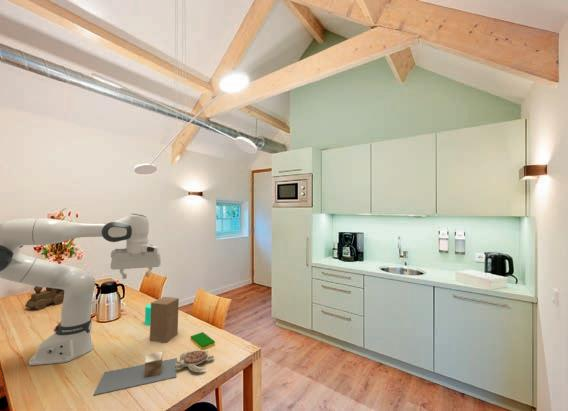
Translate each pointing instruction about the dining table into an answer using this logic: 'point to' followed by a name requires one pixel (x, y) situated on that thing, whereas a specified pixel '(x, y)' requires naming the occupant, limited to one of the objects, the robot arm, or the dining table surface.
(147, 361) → the letter cube
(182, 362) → the decorative turtle
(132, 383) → the mat
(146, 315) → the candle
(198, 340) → the dish sponge
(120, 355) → the dining table surface
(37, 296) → the wooden toy train
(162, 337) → the wooden block
